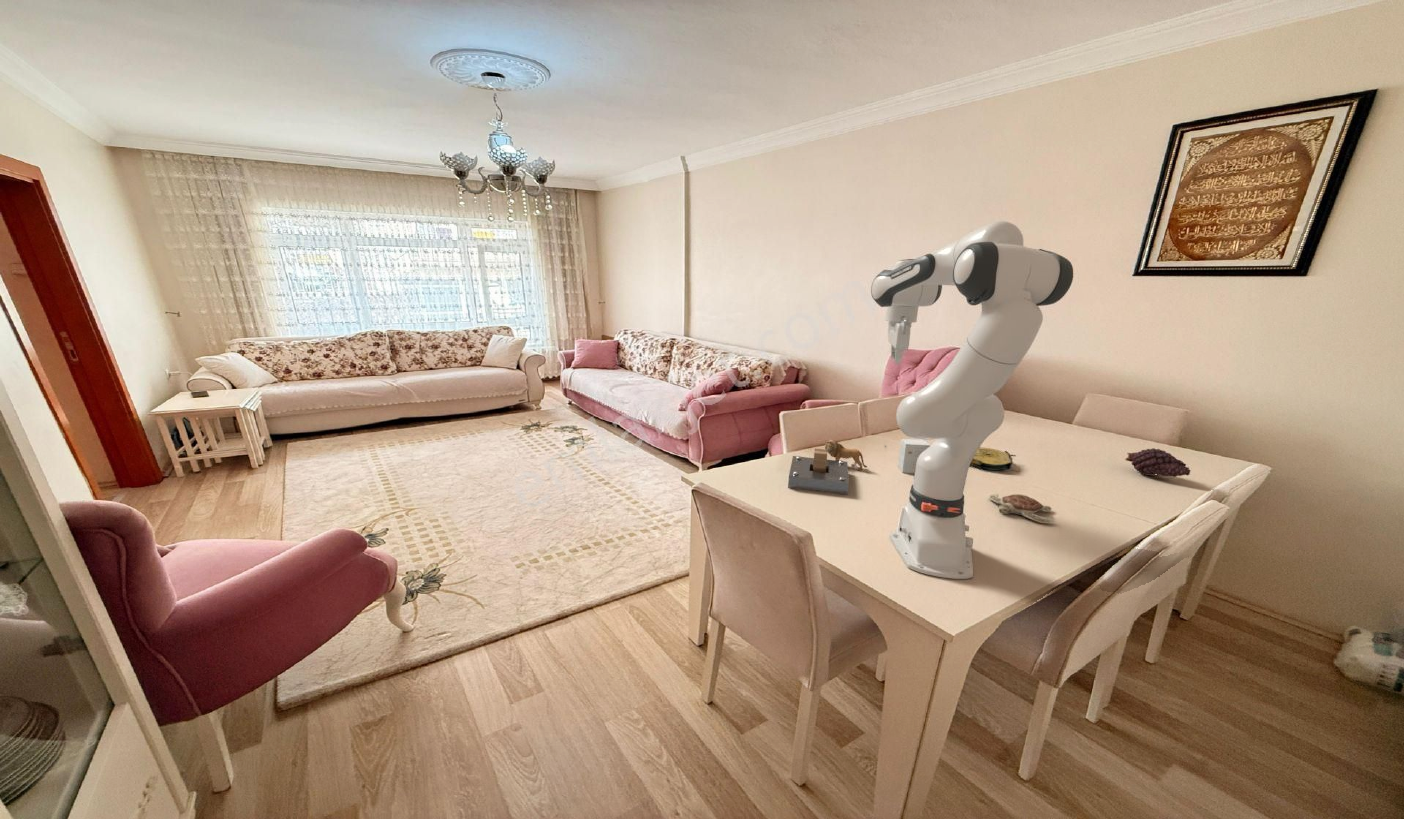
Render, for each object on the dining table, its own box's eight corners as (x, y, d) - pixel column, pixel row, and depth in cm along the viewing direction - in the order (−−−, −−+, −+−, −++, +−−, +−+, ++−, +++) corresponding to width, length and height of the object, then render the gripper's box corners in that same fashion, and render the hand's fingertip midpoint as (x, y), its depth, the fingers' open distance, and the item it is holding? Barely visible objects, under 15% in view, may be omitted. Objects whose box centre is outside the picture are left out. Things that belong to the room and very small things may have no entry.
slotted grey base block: (847, 495, 150) (849, 481, 149) (787, 487, 154) (788, 474, 153) (846, 472, 167) (847, 460, 166) (792, 466, 171) (793, 454, 170)
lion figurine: (823, 466, 172) (825, 442, 170) (823, 461, 177) (825, 437, 175) (867, 471, 168) (870, 446, 166) (866, 465, 173) (869, 441, 171)
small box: (920, 468, 172) (925, 439, 170) (926, 474, 167) (930, 445, 164) (897, 466, 173) (901, 438, 170) (901, 473, 168) (905, 443, 165)
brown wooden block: (824, 483, 158) (827, 454, 155) (811, 481, 159) (814, 452, 156) (824, 478, 162) (827, 449, 159) (812, 477, 163) (814, 448, 160)
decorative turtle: (971, 502, 148) (974, 487, 147) (1010, 494, 154) (1013, 479, 152) (1029, 531, 132) (1033, 514, 130) (1070, 521, 137) (1074, 505, 136)
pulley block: (926, 434, 189) (1017, 446, 177) (924, 447, 191) (1013, 461, 180) (925, 450, 177) (1022, 465, 166) (923, 464, 180) (1018, 480, 168)
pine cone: (1191, 484, 164) (1200, 455, 161) (1177, 489, 160) (1186, 460, 157) (1128, 465, 179) (1135, 439, 176) (1114, 469, 175) (1121, 443, 172)
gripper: (918, 318, 139) (911, 367, 142) (907, 313, 158) (902, 356, 161) (894, 317, 140) (888, 365, 144) (886, 312, 159) (881, 355, 163)
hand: (895, 360), depth 153 cm, fingers open, 8 cm apart
